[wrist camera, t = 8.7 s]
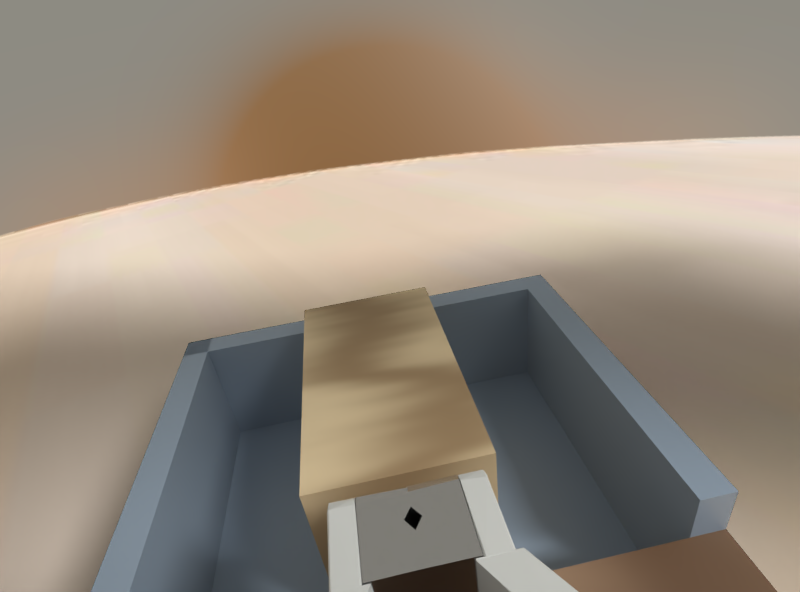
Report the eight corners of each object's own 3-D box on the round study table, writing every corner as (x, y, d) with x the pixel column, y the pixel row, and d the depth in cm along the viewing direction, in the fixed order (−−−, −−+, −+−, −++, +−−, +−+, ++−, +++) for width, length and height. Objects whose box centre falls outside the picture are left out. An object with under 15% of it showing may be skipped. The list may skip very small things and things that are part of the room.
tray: (538, 368, 25) (540, 274, 22) (698, 610, 15) (738, 491, 12) (227, 432, 24) (188, 342, 21) (161, 744, 14) (69, 647, 11)
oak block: (502, 585, 15) (437, 396, 23) (496, 452, 12) (424, 287, 20) (345, 623, 15) (333, 418, 23) (299, 496, 12) (304, 310, 20)
